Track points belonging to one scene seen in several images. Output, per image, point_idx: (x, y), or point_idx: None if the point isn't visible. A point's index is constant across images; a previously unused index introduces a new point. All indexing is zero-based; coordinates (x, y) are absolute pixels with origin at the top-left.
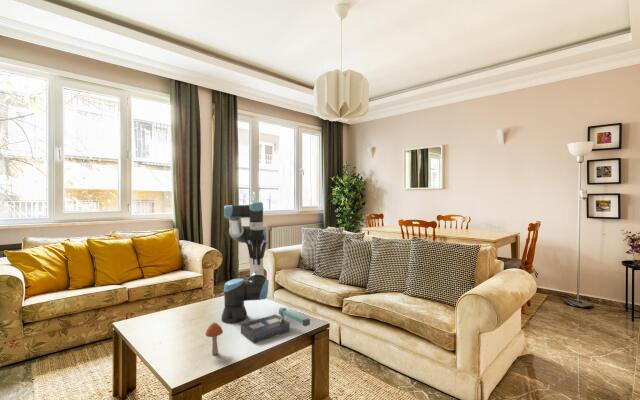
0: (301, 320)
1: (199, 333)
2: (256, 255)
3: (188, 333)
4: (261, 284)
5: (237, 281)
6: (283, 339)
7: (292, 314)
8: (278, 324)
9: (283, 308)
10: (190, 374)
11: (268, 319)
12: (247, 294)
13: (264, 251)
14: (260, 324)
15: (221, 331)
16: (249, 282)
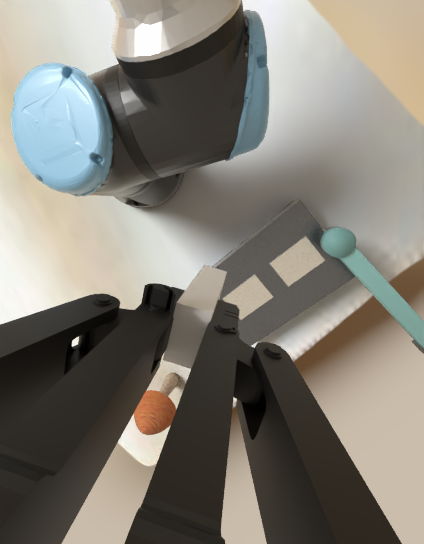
0: (415, 339)
1: (90, 277)
2: (160, 333)
3: (64, 276)
4: (227, 124)
5: (75, 147)
6: (328, 316)
7: (383, 292)
8: (317, 289)
9: (344, 236)
10: (158, 440)
11: (277, 247)
12: (166, 176)
13: (338, 462)
14: (257, 291)
15: (173, 417)
16: (147, 122)
